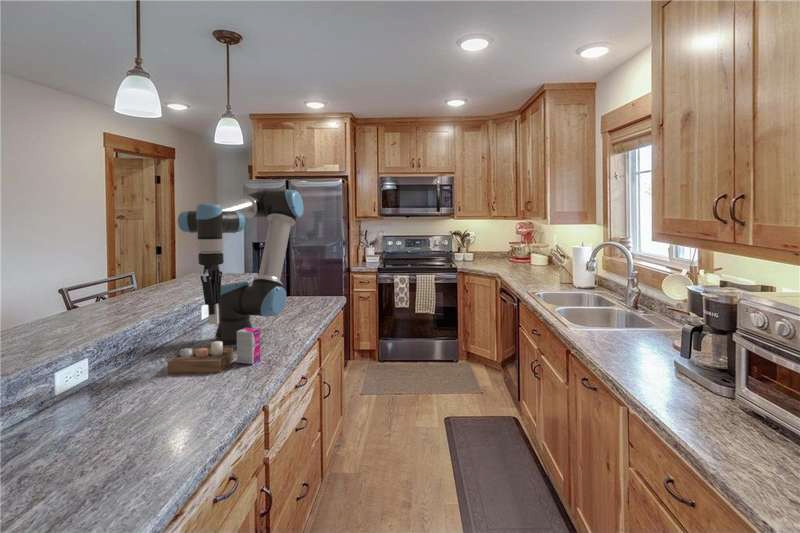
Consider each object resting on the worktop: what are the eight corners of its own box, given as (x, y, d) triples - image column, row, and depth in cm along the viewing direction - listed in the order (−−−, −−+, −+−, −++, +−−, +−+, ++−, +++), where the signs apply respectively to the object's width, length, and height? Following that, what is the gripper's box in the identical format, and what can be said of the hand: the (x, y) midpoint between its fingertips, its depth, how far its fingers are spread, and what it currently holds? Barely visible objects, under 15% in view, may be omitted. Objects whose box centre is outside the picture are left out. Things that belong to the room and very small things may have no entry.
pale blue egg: (183, 362, 153) (182, 348, 152) (194, 362, 153) (193, 348, 153) (179, 365, 149) (178, 351, 149) (190, 365, 150) (189, 351, 149)
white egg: (213, 355, 153) (213, 341, 153) (224, 354, 154) (224, 341, 153) (209, 358, 150) (209, 344, 149) (221, 358, 150) (220, 343, 149)
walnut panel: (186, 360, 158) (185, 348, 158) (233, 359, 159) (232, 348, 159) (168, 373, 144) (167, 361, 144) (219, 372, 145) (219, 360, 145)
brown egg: (198, 362, 153) (198, 348, 153) (209, 361, 153) (209, 347, 153) (194, 365, 150) (193, 351, 149) (205, 365, 150) (205, 351, 149)
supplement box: (252, 365, 152) (251, 332, 151) (236, 364, 154) (235, 331, 152) (261, 360, 158) (260, 327, 157) (245, 359, 159) (244, 327, 158)
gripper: (206, 250, 154) (209, 319, 157) (190, 253, 141) (194, 328, 144) (229, 250, 154) (231, 319, 157) (215, 253, 141) (218, 328, 144)
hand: (213, 323), depth 150 cm, fingers closed
